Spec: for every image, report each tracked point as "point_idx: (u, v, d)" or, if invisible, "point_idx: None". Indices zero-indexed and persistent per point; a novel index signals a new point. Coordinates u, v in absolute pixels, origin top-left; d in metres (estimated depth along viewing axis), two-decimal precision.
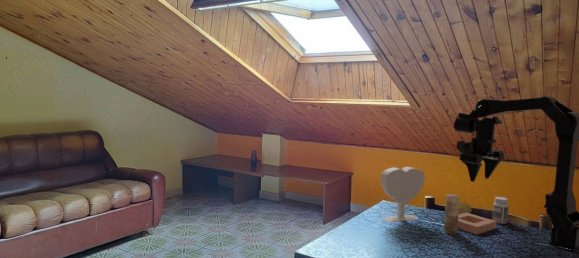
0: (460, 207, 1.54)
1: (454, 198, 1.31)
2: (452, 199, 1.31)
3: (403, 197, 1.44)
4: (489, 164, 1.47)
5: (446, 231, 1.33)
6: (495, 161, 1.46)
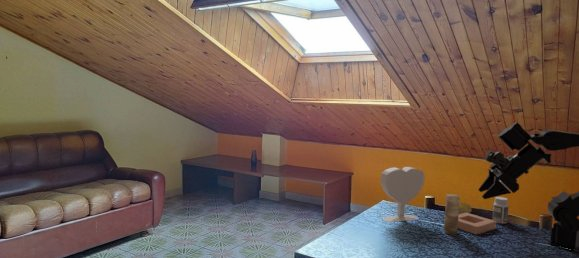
0: (460, 207, 1.54)
1: (454, 198, 1.31)
2: (452, 199, 1.31)
3: (403, 197, 1.44)
4: (492, 181, 1.34)
5: (446, 231, 1.33)
6: None
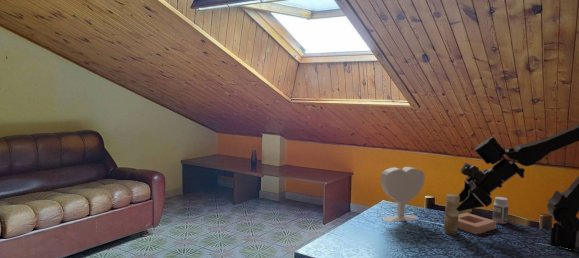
0: None
1: (454, 198, 1.31)
2: (452, 199, 1.31)
3: (403, 197, 1.44)
4: (468, 193, 1.36)
5: (446, 231, 1.33)
6: None
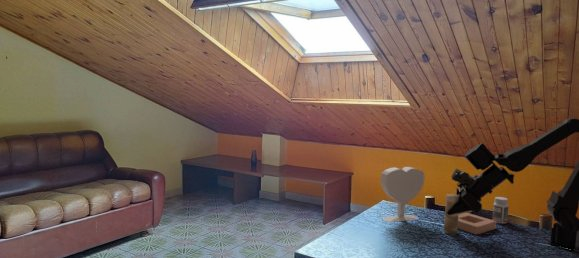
0: None
1: (454, 198, 1.31)
2: (452, 199, 1.31)
3: (403, 197, 1.44)
4: None
5: (446, 231, 1.33)
6: None
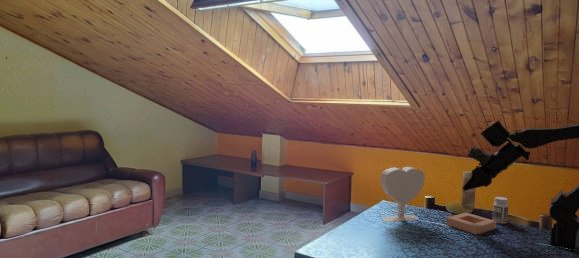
0: None
1: (469, 174, 1.35)
2: (467, 176, 1.35)
3: (403, 197, 1.44)
4: None
5: (462, 206, 1.37)
6: None
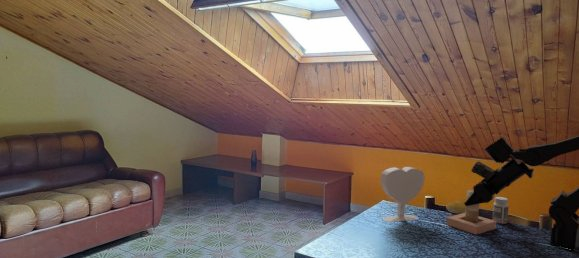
0: (461, 207, 1.54)
1: (472, 193, 1.37)
2: None
3: (403, 197, 1.44)
4: None
5: None
6: None
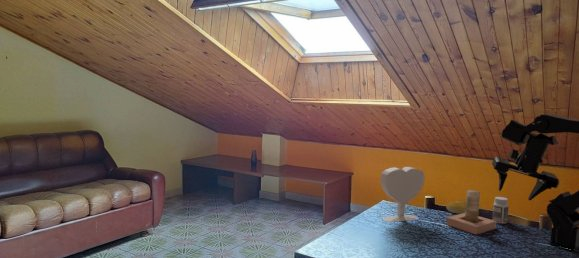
0: (461, 207, 1.54)
1: (472, 193, 1.37)
2: (471, 195, 1.37)
3: (403, 197, 1.44)
4: (536, 186, 1.33)
5: None
6: (540, 185, 1.30)
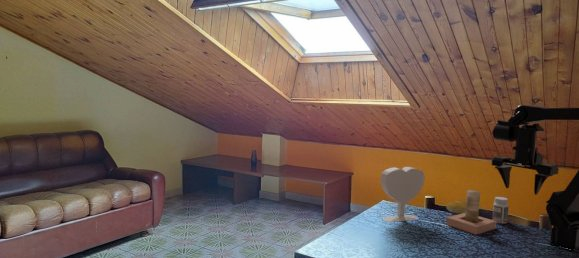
0: (461, 207, 1.54)
1: (473, 193, 1.37)
2: (471, 195, 1.37)
3: (403, 197, 1.44)
4: None
5: None
6: None
